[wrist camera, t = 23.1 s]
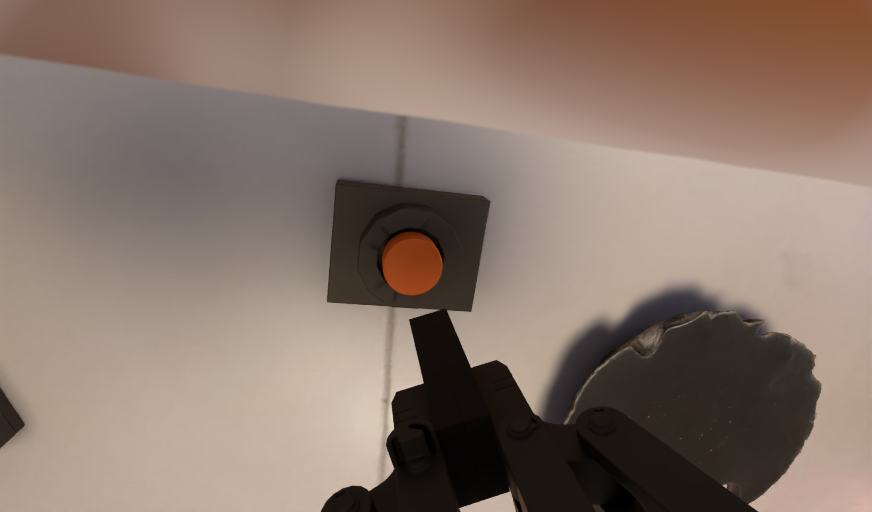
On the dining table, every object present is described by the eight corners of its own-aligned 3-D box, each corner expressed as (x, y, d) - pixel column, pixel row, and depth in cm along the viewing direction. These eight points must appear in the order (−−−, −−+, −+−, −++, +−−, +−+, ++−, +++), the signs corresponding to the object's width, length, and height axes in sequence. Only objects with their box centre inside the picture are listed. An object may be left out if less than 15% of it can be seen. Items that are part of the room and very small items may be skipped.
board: (754, 476, 45) (801, 521, 40) (536, 527, 42) (559, 581, 37) (781, 263, 38) (843, 286, 33) (522, 310, 35) (547, 342, 30)
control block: (328, 293, 32) (324, 314, 29) (337, 179, 30) (334, 188, 27) (466, 302, 34) (477, 323, 31) (484, 196, 32) (498, 206, 29)
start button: (378, 282, 30) (380, 293, 28) (384, 228, 28) (386, 235, 27) (434, 287, 30) (438, 297, 29) (442, 234, 29) (446, 241, 28)
